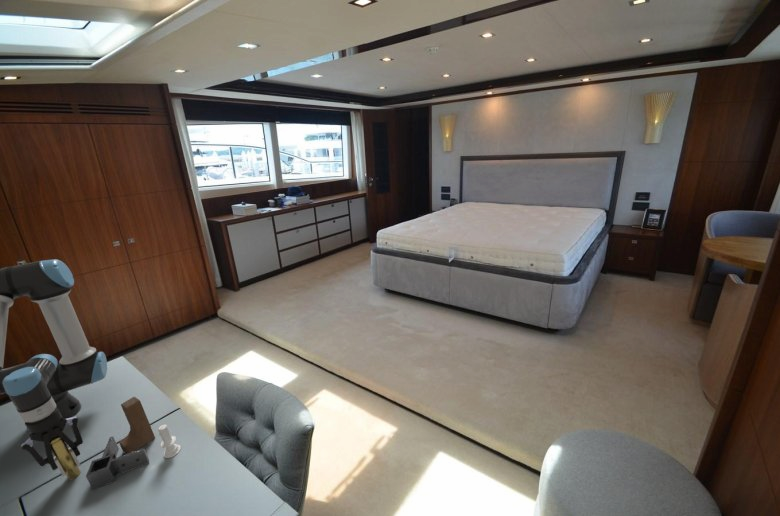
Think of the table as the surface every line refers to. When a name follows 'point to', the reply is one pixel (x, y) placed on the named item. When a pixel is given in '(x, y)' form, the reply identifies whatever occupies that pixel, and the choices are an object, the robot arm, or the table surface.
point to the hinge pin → (64, 457)
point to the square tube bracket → (113, 464)
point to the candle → (168, 442)
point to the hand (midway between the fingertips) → (70, 468)
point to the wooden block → (136, 426)
